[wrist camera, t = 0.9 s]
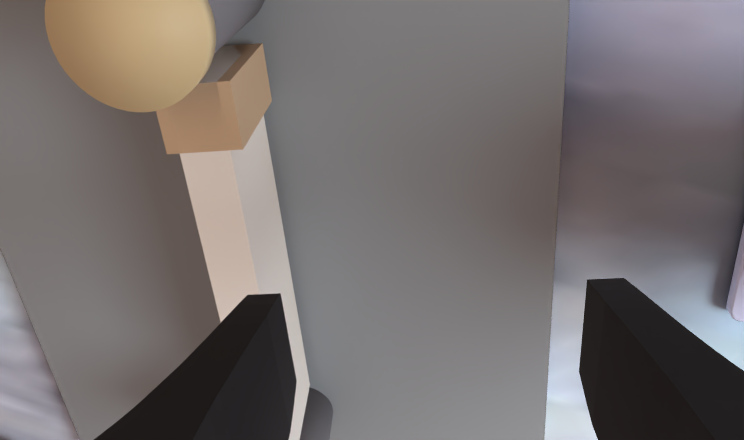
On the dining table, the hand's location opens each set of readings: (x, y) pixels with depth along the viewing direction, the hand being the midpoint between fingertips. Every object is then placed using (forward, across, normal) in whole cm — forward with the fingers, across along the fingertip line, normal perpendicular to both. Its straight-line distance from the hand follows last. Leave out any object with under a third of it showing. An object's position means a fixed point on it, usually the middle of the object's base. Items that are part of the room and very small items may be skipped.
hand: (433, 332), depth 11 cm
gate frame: (+9, +5, +3) cm, 11 cm away
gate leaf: (+8, +5, +2) cm, 10 cm away
